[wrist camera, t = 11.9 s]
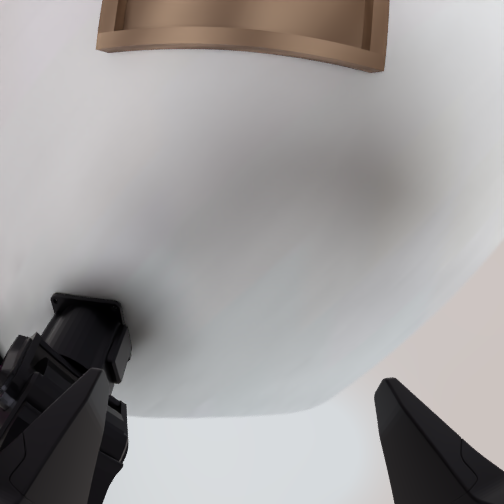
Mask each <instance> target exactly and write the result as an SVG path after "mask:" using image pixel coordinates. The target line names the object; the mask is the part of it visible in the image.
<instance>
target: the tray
mask: <svg viewBox="0 0 504 504" xmlns="http://www.w3.org/2000/svg"><path fill="white" fill-rule="evenodd" d="M388 19H389V0H103V1H102V7H101V13H100V20H99V27H98V35H97V43H96V50H100V51H104V52H107V53H113V52H123V51H135V50H152V49H218V50H235V51H248V52H258V53H268V54H276V55H284V56H291V57H297V58H304V59H309V60H315V61H321V62H326V63H331V64H336V65H340V66H345V67H349V68H353V69H358V70H362V71H366V72H369V73H372V72H382V71H384V66H385V56H386V46H387V33H388Z"/></svg>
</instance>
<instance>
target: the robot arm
mask: <svg viewBox="0 0 504 504" xmlns="http://www.w3.org/2000/svg"><path fill="white" fill-rule="evenodd" d="M51 303H52V306H53V310H54V313H55V314H54V316H53V317H52V319H51V321H50V322H49V324H48V325H47V327H46V329H45V330H44V332H43V333H42V335H41V336H40V335H39V334H38V333H37V332H36V333H35V334H34V335H33V336H32V337H31V338H30V337H25V336H22V335H19V336H18V337H17V338H16V339H15V341H14V342H13V344H12V346H11V347H10V349H9V350H8V352H7V354H6V356H5V358H4V360H3V362H2V364H1V367H0V504H102V503H103V500H104V498H105V495H106V492H107V490H108V488H109V485H110V484H111V482H112V480H113V479H114V477H115V476H116V474H117V473H118V472H119V471H120V470H121V469H122V467H123V461H124V459H125V457H126V454H127V451H128V429H127V409H126V404H125V403H123V402H122V401H118V400H117V399H116V398H114V397H113V396H111V393H112V390H113V387H114V383H116V384H119V383H120V382H121V381H122V378H123V375H124V371H125V368H126V365H127V362H128V361H129V360H130V358H131V353H130V352H131V349H132V347H131V342H130V337H129V331H128V327H127V326H126V325H125V324H124V318H123V313H122V307H121V304H120V303H119V302H117V301H113V300H104V299H95V298H87V297H79V296H71V295H63V294H53V296H52V297H51ZM113 306H115V307H116V308H114V307H113ZM374 400H375V407H376V414H377V421H378V429H379V436H380V440H381V445H382V449H383V453H384V457H385V462H386V466H387V470H388V475H389V479H390V484H391V488H392V493H393V498H394V503H395V504H504V471H503V470H501V469H500V468H499V467H497V466H496V465H494V464H493V463H492V462H490V461H489V460H487V459H486V458H485V457H483V456H482V455H481V454H480V453H478V452H477V451H476V450H475V449H474V448H472V447H471V446H470V445H469V444H468V443H467V442H466V441H464V440H463V439H461V437H460V436H459V435H458V434H457V433H456V432H454V431H453V430H452V429H451V428H450V427H449V426H448V425H447V424H446V423H445V422H444V421H442V420H441V419H440V418H439V417H438V416H437V415H436V414H434V412H432V411H431V410H430V409H429V408H428V407H427V406H426V405H425V404H424V403H423V402H422V401H420V400H419V399H418V398H417V397H416V396H415V395H413V393H411V392H410V391H409V390H408V389H407V388H406V387H405V386H404V385H403V384H402V383H400V382H399V381H398V380H397V379H396V378H385V379H383V380H382V382H381V383H380V385H379V387H378V389H377V391H376V392H375V396H374Z"/></svg>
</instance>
